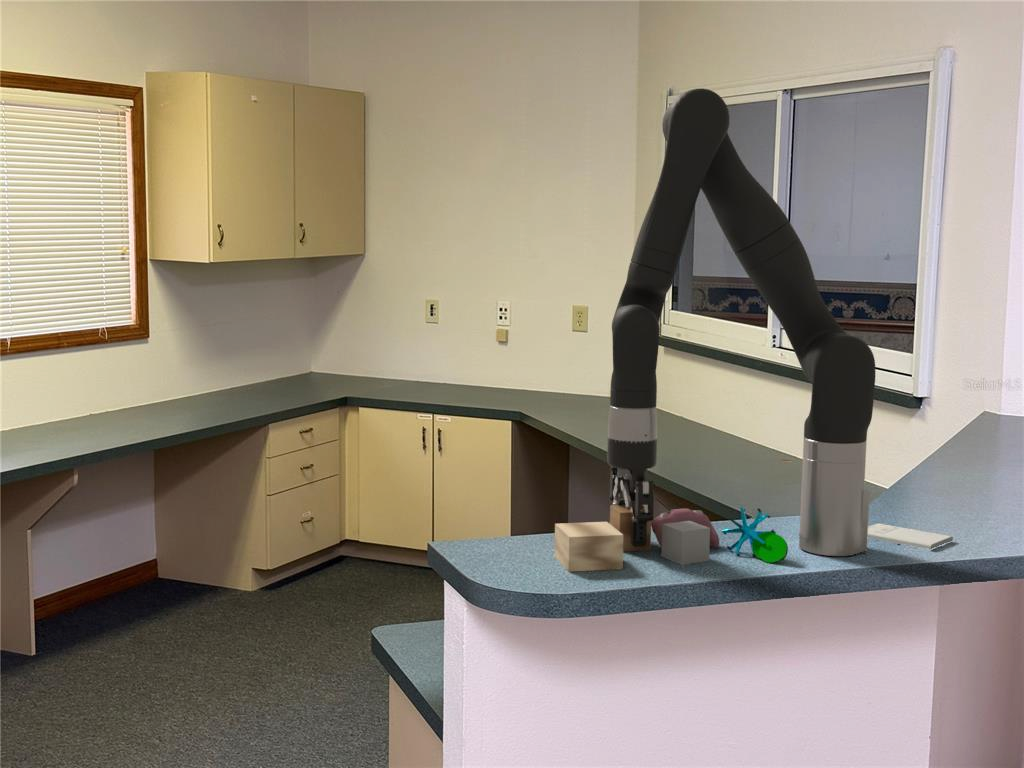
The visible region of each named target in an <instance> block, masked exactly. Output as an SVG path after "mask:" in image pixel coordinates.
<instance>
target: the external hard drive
mask: <svg viewBox="0 0 1024 768" xmlns="http://www.w3.org/2000/svg"><path fill="white" fill-rule="evenodd" d="M868 537H869V538H874V539H879V540H884V541H888V542H894V543H900V544H906V545H912V546H917V547H922V548H928V549H932V548H934V547H937V546H939V545H942V544H944V543H947V542H950V541H953V542H954V540H953V539H954V537H953V536H952V535H946V534H940V533H934V532H929V531H928V532H927V531H924V530H918V529H911V528H906V527H901V526H897V525H895V526H894V525H888V524H885V523H880V522H879V523H875V524H873V525H868Z"/></svg>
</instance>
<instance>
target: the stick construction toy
mask: <svg viewBox="0 0 1024 768" xmlns="http://www.w3.org/2000/svg"><path fill="white" fill-rule="evenodd" d="M739 508H740V514H741V515H740V516H741V522H742V524H740V523H739V522H738V521H736V520H735V519H734V518H731V519H730V521H731V522H732V523H733V524H734V525H735V526H736V527H737V528H731V529H730V528H729V529H728V528H727V529H723V530H721V533H722V534H723V535H725V536H726V535H727V534H741V535H740V538H739V539H738V540H737V541H736V542H735V543H733V544H731V546H729V545H727V546H726V548H727V550H729V551H732V550H734V549H735V552H734V555H736V556H737V557H738V556H740V553H739V552H740V550H741V549H742V545H743V544H744V542H746V541H748V540H749V543H750V547H751V551H752V552H751V556H752V557H753V558H758V559H760V560H762V561H763V562H765V563H768V564H777V563H780V562H781V561H784V560H785V559H786V558H787V555H788V552H789V549H788V548H789V547H788V543H787V540H786V539H784V537H783V536H781V535H779V534H777V532H776V531H775V530H774V529H771V530H765V531H762V530H761V531H760V530H759V531H756V528H758V527H757V526H758V525H759V524H760V523H761V522H763V521H764V520H765V519H766V518H768V519H770V518H771V515H770V514H769V513H765V514H763V510H762V509H760V508H757V509H756V510H757V511H758V512H757V514H756V516H755V518H754V521H752V522H751V523H750V524H749V523H748V521H747V516H746V514H745V513H746V509H745V508H744V507H743V506H741V507H739ZM762 514H763V515H762ZM748 524H749V525H748Z"/></svg>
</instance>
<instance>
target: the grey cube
mask: <svg viewBox="0 0 1024 768" xmlns="http://www.w3.org/2000/svg"><path fill="white" fill-rule="evenodd" d="M660 554H661V555H660V556H661V557H662V558H665V559H667V560H669V561H672V562H675V563H676V564H679V565H688V564H695V563H702V562H710V528H708V527H706V526H703V525H700V524H697V523H695V522H692V521H683V522H675V523H666V524H662V548H661V553H660Z"/></svg>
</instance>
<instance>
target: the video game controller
mask: <svg viewBox="0 0 1024 768" xmlns="http://www.w3.org/2000/svg"><path fill="white" fill-rule="evenodd" d="M683 521H692V522H695V523H697V524H700V525H703V526H706V527H708V528H710V545H709V547H710V546H711V548H713V549H718V547H719V546H720V537H719V534H718V533H717V531H716V529H715V527H714V525H713V524H712V522H711V520H710V519H709V517H708V516H707V515H706V514H704V512H703V511H702V510H699V509H698V510H696V509H695V510H694V509H690V508H676V509H670V510H668V511H665V512H662V513H660V514H659V515H657V516H655V517H653V520H652V521H651V531H652V532H653V534H654V536H655V538H656V540H657V543H658V544H659V547H660V548H661V549H662V524H666V523H675V522H683Z"/></svg>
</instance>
